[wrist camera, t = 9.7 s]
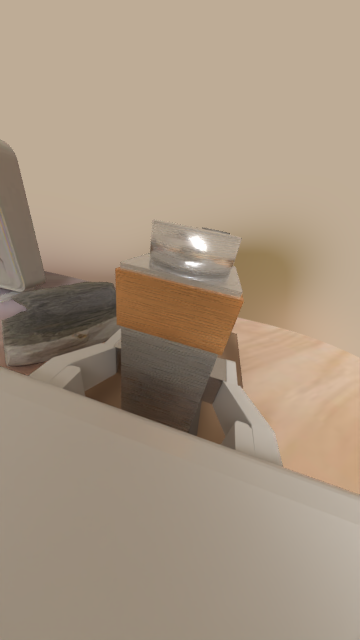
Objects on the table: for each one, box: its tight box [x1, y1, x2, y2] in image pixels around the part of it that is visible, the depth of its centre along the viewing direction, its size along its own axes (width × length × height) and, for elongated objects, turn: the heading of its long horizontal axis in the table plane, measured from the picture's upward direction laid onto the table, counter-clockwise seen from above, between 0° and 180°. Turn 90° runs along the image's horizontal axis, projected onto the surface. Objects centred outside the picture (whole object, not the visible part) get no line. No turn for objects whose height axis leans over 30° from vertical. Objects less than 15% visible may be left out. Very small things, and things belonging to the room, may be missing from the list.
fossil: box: [2, 282, 121, 366], centre depth 25 cm, size 15×16×4 cm
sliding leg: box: [115, 220, 244, 433], centre depth 9 cm, size 4×4×13 cm
